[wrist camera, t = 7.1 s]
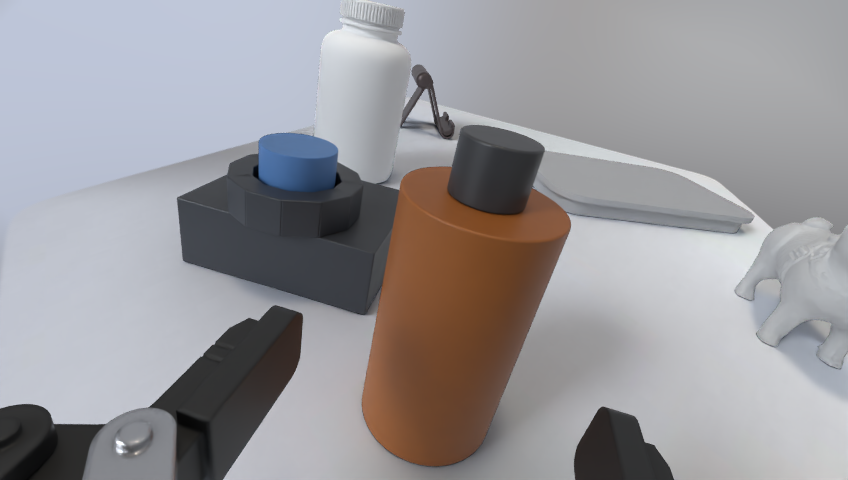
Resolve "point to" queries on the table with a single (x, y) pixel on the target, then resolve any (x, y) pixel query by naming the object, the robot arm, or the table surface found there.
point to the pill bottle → (363, 88)
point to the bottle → (459, 295)
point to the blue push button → (297, 162)
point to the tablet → (634, 194)
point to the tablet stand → (424, 83)
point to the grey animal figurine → (805, 283)
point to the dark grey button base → (292, 234)
